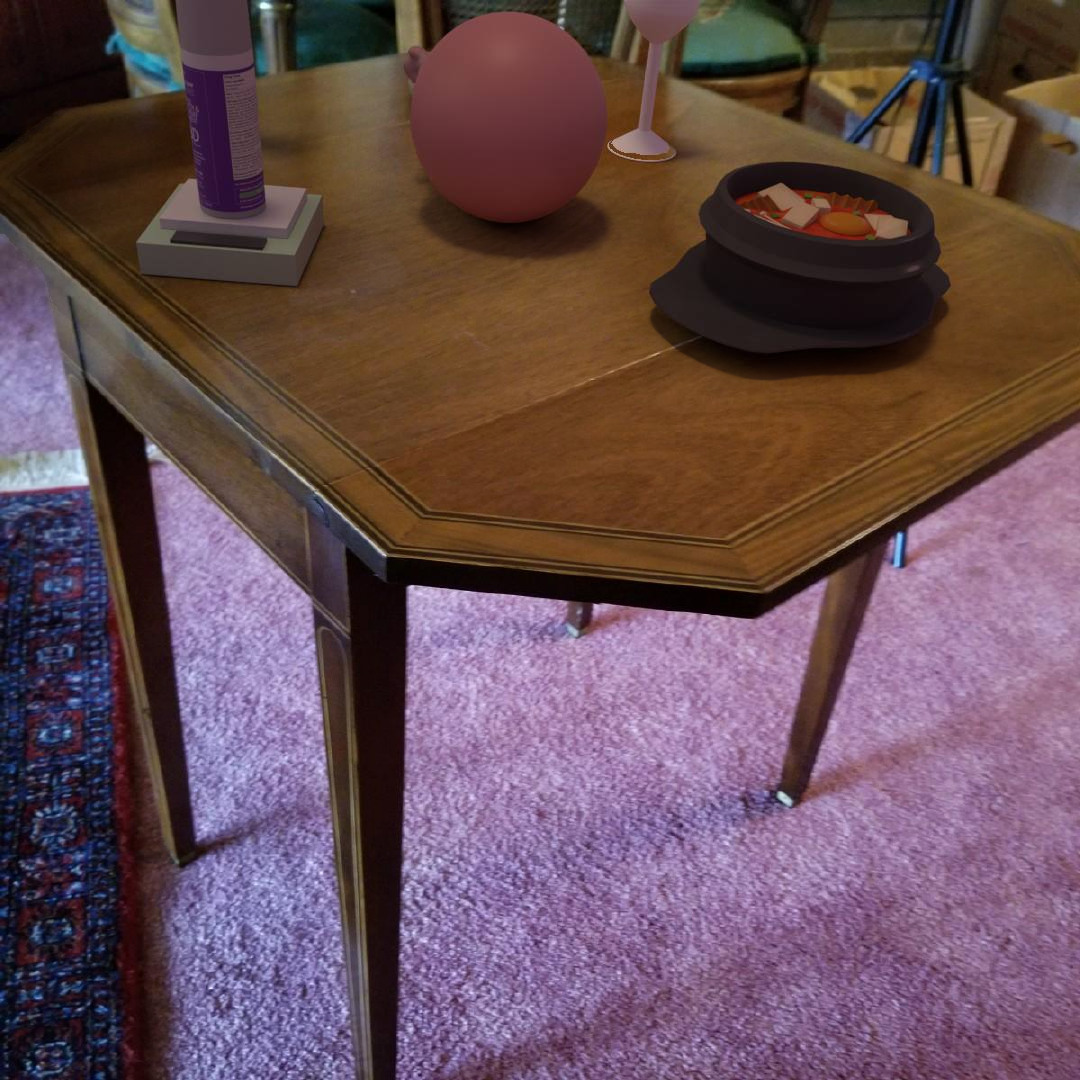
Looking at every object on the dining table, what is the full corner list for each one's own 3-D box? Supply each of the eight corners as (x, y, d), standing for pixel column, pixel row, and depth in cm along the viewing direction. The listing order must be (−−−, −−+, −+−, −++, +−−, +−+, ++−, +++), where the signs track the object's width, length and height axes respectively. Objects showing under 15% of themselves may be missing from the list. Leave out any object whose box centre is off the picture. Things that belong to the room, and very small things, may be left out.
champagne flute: (598, 137, 107) (630, -150, 91) (663, 136, 108) (704, -146, 93) (618, 162, 102) (654, -137, 86) (685, 161, 103) (733, -133, 88)
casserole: (777, 413, 69) (808, 292, 63) (590, 295, 80) (602, 183, 74) (1001, 320, 82) (1042, 212, 76) (813, 229, 92) (838, 130, 87)
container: (186, 206, 79) (155, -22, 69) (234, 188, 82) (212, -31, 72) (231, 225, 77) (206, -7, 67) (279, 206, 80) (262, -18, 70)
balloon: (487, 152, 101) (496, -30, 91) (634, 229, 90) (661, 30, 80) (344, 181, 93) (337, -16, 83) (485, 271, 81) (496, 54, 72)
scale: (140, 274, 77) (133, 231, 75) (183, 213, 85) (178, 173, 83) (296, 286, 77) (294, 244, 75) (324, 224, 86) (322, 184, 84)
